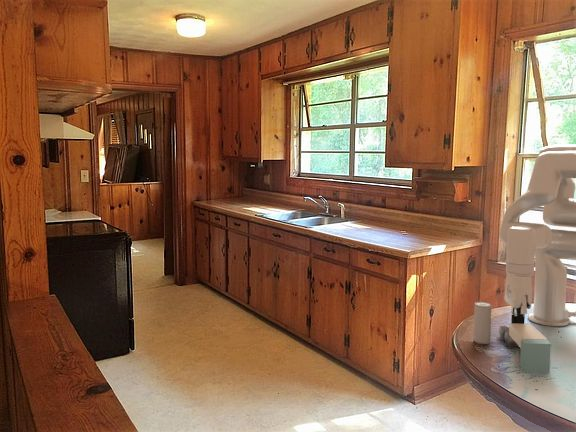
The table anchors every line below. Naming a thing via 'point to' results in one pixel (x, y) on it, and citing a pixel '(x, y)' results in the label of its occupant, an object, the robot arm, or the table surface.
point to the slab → (524, 332)
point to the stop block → (535, 356)
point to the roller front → (509, 340)
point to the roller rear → (503, 331)
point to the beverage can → (482, 322)
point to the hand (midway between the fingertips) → (517, 328)
